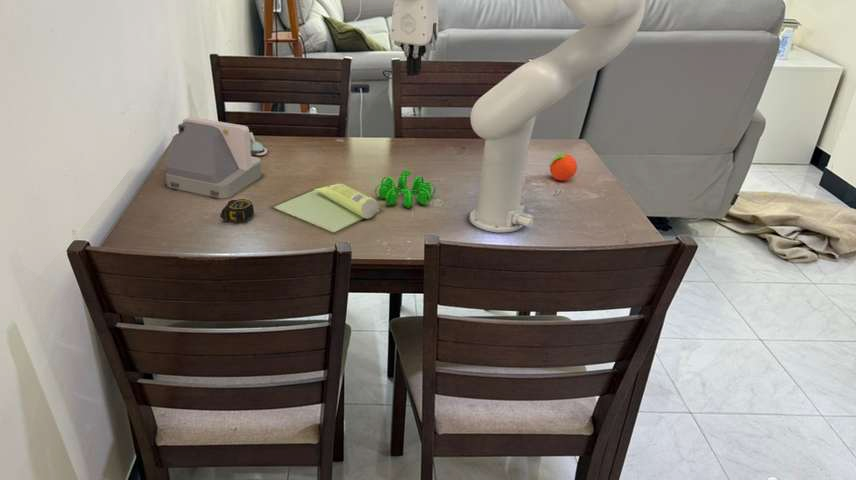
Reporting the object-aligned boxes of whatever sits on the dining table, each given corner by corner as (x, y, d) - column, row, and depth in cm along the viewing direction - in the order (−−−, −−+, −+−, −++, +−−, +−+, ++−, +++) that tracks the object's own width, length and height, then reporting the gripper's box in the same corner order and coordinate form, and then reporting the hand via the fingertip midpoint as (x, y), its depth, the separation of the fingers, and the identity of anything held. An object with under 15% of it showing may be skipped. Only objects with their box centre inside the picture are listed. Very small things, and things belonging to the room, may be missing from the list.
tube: (372, 224, 158) (329, 199, 172) (384, 205, 158) (340, 183, 172) (357, 213, 154) (314, 189, 169) (368, 194, 154) (325, 172, 168)
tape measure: (230, 211, 161) (229, 196, 159) (258, 213, 160) (256, 198, 158) (220, 223, 155) (219, 208, 153) (249, 225, 154) (247, 210, 152)
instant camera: (270, 178, 179) (267, 122, 172) (215, 203, 164) (209, 144, 157) (213, 161, 189) (207, 108, 182) (156, 184, 175) (147, 128, 167)
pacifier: (268, 149, 199) (247, 148, 199) (267, 128, 196) (246, 128, 196) (266, 157, 193) (245, 157, 192) (266, 136, 190) (244, 136, 189)
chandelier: (410, 216, 159) (412, 189, 156) (362, 199, 168) (363, 173, 164) (446, 197, 169) (448, 171, 166) (399, 182, 178) (400, 157, 174)
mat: (379, 210, 162) (379, 209, 162) (334, 232, 151) (334, 231, 151) (319, 189, 173) (319, 187, 173) (273, 208, 163) (273, 206, 163)
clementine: (555, 186, 176) (559, 160, 172) (539, 177, 182) (543, 152, 178) (580, 182, 179) (584, 157, 175) (563, 173, 184) (568, 148, 181)
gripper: (378, -13, 147) (377, 72, 156) (436, -8, 139) (431, 82, 148) (399, -17, 152) (396, 67, 161) (455, -11, 144) (449, 76, 153)
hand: (413, 74), depth 154 cm, fingers closed
